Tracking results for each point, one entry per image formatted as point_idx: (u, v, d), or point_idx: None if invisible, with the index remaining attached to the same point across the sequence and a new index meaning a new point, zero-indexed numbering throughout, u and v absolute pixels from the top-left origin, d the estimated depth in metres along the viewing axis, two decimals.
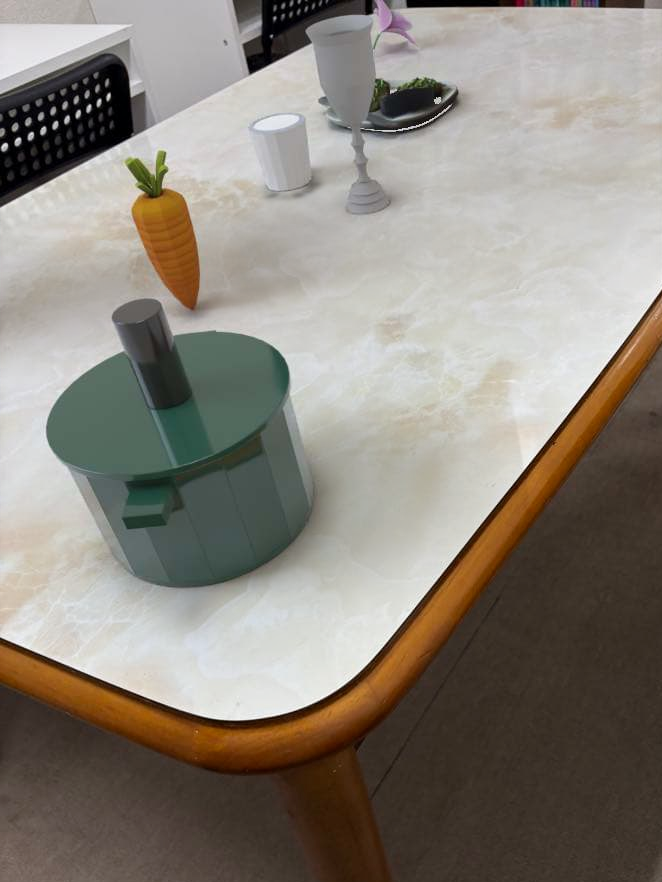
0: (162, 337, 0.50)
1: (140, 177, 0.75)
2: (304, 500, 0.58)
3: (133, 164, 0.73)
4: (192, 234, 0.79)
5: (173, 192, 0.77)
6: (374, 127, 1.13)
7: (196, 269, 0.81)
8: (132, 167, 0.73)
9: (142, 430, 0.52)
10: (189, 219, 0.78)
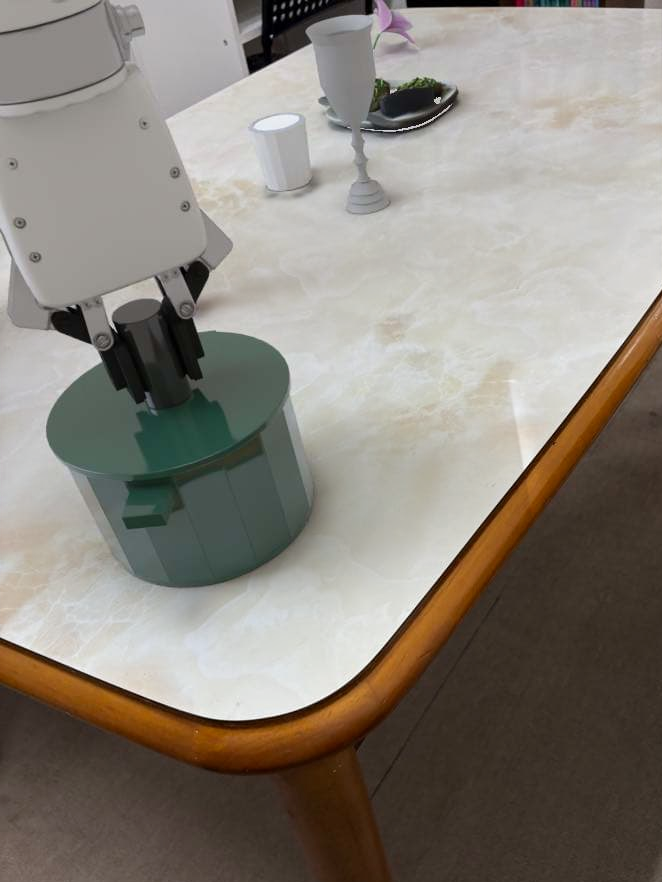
0: (162, 337, 0.50)
1: None
2: (304, 500, 0.58)
3: None
4: None
5: None
6: (374, 127, 1.13)
7: None
8: None
9: (142, 430, 0.52)
10: None
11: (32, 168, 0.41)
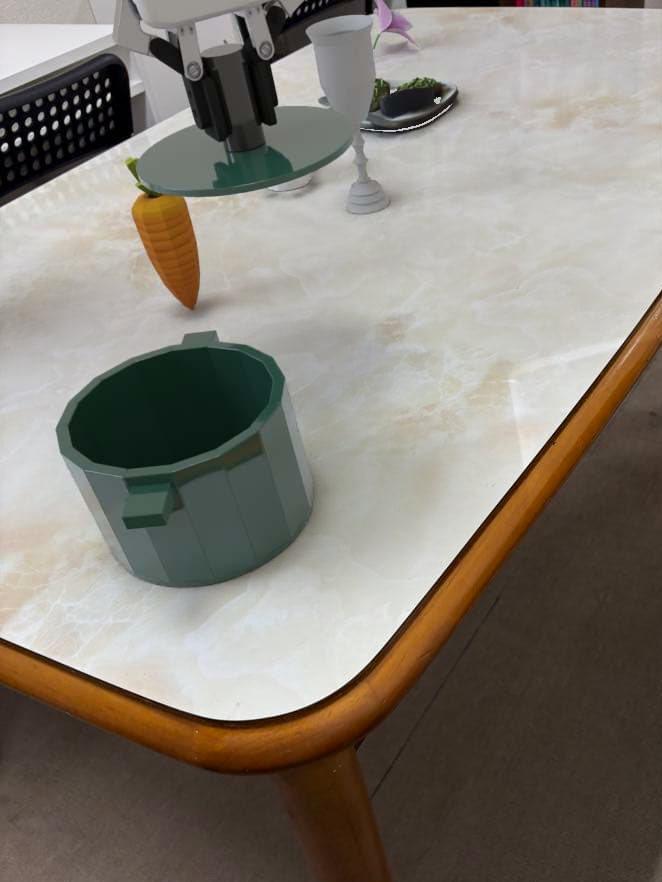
0: (244, 75, 0.57)
1: None
2: (304, 500, 0.58)
3: (133, 164, 0.73)
4: (192, 234, 0.79)
5: None
6: (374, 127, 1.13)
7: (196, 269, 0.81)
8: (132, 167, 0.73)
9: (224, 164, 0.58)
10: (189, 219, 0.78)
11: None
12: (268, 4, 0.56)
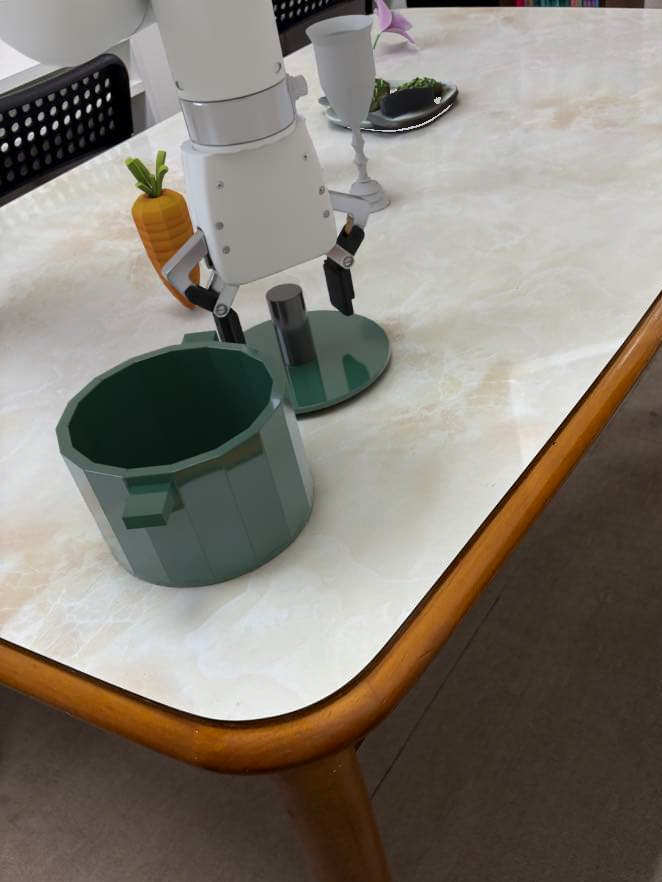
0: (301, 311, 0.69)
1: (140, 177, 0.75)
2: (304, 500, 0.58)
3: (133, 164, 0.73)
4: (192, 234, 0.79)
5: (173, 192, 0.77)
6: (374, 127, 1.13)
7: (196, 269, 0.81)
8: (132, 167, 0.73)
9: None
10: (189, 219, 0.78)
11: (231, 188, 0.60)
12: None
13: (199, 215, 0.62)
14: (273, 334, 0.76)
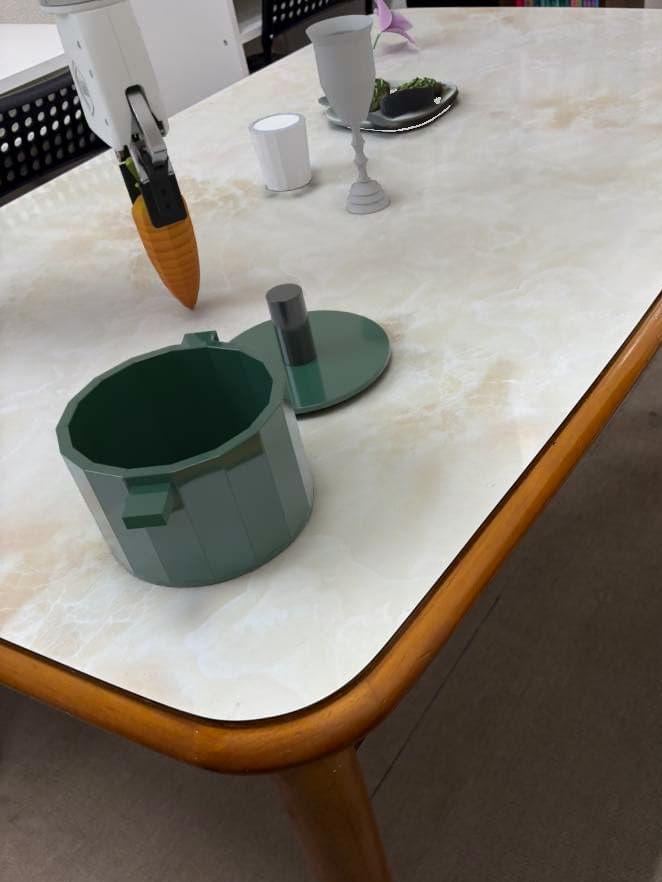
0: (301, 311, 0.69)
1: None
2: (304, 500, 0.58)
3: (133, 164, 0.73)
4: (192, 234, 0.79)
5: None
6: (374, 127, 1.13)
7: (196, 269, 0.81)
8: (132, 167, 0.73)
9: None
10: (189, 219, 0.78)
11: None
12: None
13: (134, 69, 0.66)
14: (273, 334, 0.76)
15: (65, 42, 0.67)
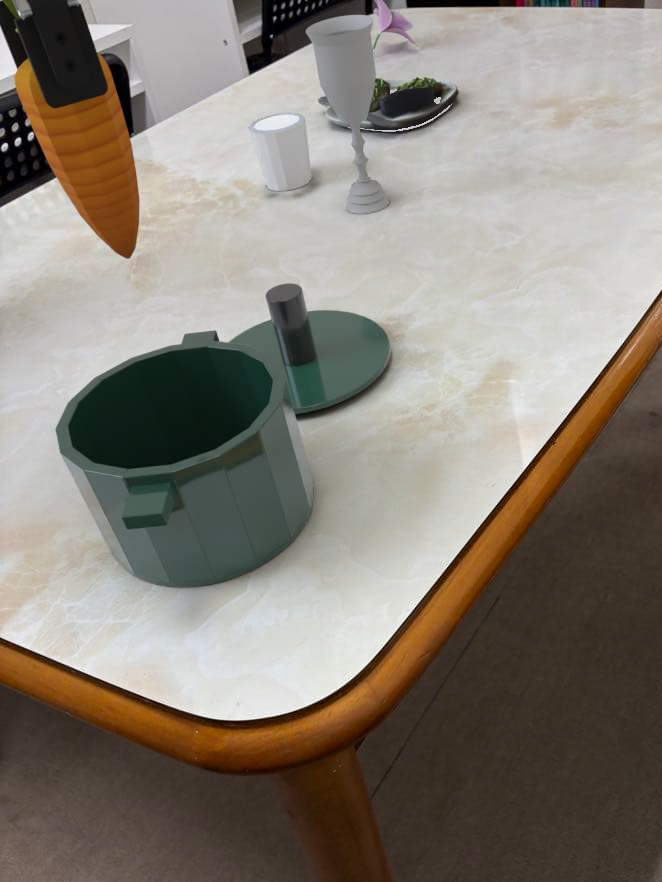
0: (301, 311, 0.69)
1: None
2: (304, 500, 0.58)
3: None
4: (122, 127, 0.47)
5: None
6: (374, 127, 1.13)
7: (131, 189, 0.49)
8: None
9: None
10: (116, 101, 0.47)
11: None
12: None
13: None
14: (273, 334, 0.76)
15: None
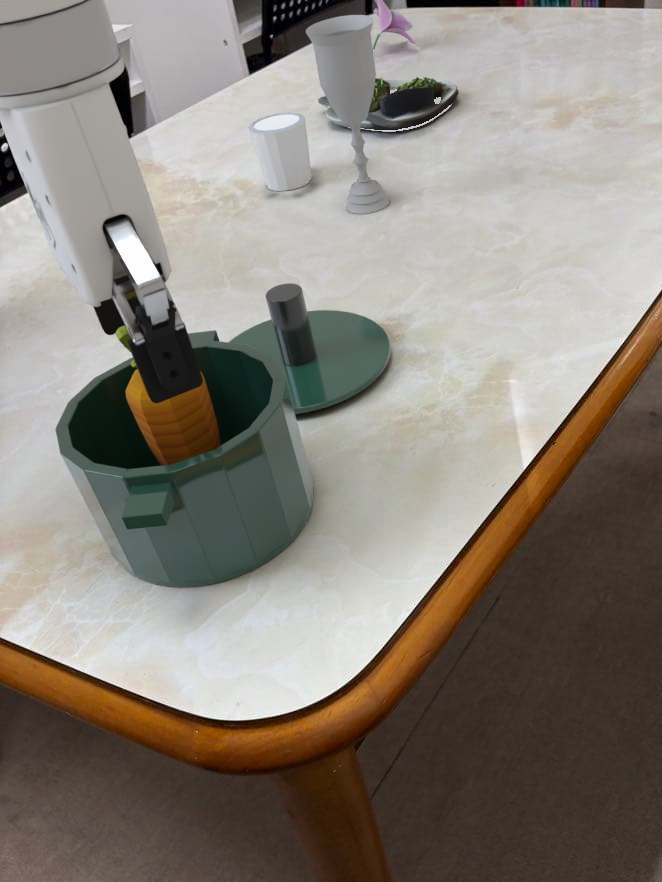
0: (301, 311, 0.69)
1: None
2: (304, 500, 0.58)
3: (128, 337, 0.50)
4: (212, 417, 0.56)
5: None
6: (374, 127, 1.13)
7: None
8: (126, 340, 0.50)
9: None
10: (208, 399, 0.55)
11: None
12: None
13: (117, 191, 0.42)
14: (273, 334, 0.76)
15: (10, 144, 0.43)
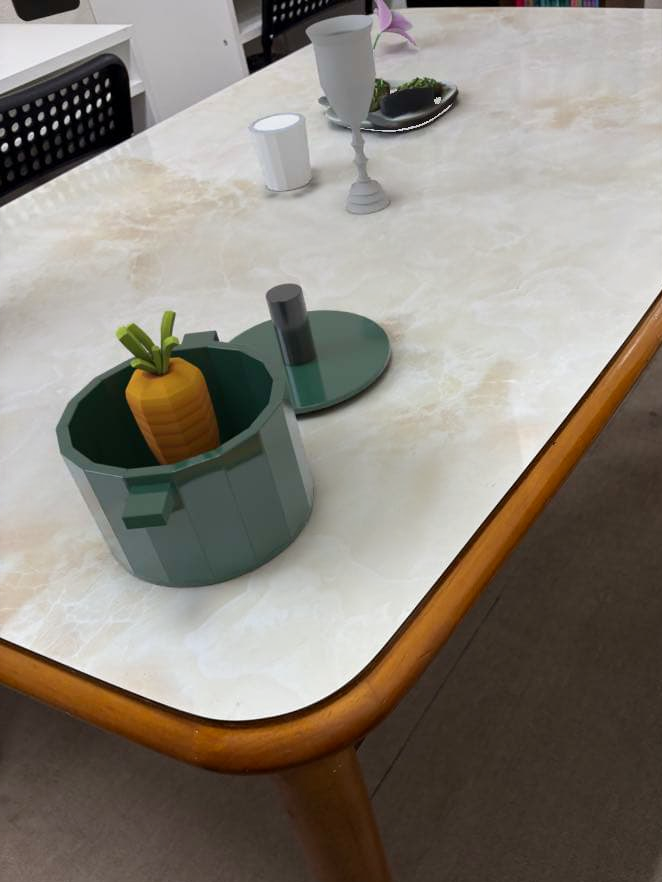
0: (301, 311, 0.69)
1: (138, 351, 0.51)
2: (304, 500, 0.58)
3: (128, 337, 0.50)
4: (212, 417, 0.56)
5: (185, 366, 0.53)
6: (374, 127, 1.13)
7: None
8: (126, 340, 0.50)
9: None
10: (208, 399, 0.55)
11: None
12: None
13: None
14: (273, 334, 0.76)
15: None
